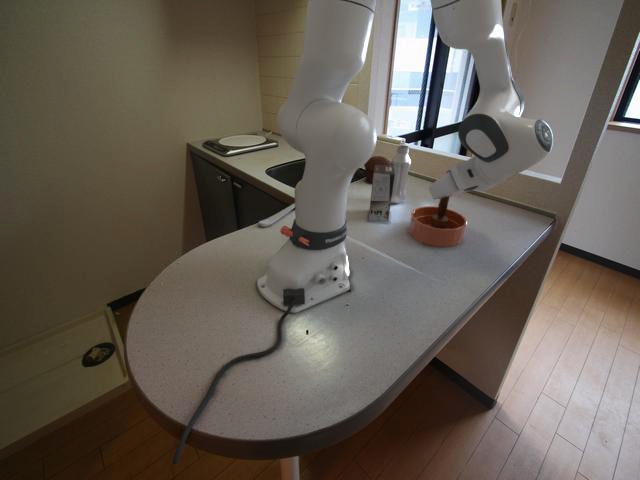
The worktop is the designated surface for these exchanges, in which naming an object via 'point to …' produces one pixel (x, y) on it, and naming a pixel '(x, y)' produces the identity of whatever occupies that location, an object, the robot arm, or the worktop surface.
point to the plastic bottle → (400, 174)
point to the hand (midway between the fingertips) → (443, 195)
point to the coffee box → (381, 192)
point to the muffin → (371, 164)
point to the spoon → (275, 217)
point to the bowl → (436, 236)
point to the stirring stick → (441, 214)
